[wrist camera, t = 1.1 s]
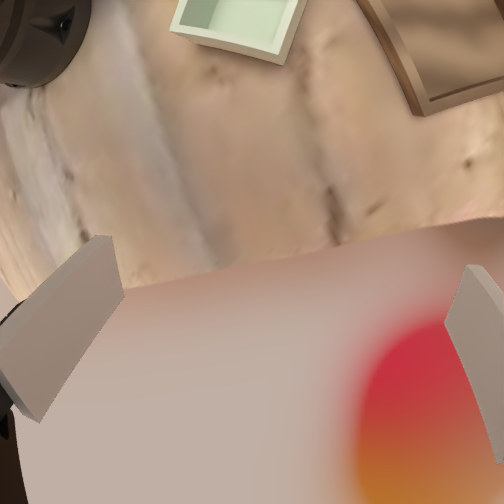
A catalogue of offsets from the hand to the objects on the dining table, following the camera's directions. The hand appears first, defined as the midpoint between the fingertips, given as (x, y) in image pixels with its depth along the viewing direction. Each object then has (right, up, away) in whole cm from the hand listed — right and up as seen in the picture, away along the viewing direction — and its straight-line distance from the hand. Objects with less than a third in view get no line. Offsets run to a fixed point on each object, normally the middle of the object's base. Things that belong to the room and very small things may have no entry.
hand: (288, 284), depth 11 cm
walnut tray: (+17, +23, +8) cm, 29 cm away
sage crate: (-1, +22, +11) cm, 25 cm away
